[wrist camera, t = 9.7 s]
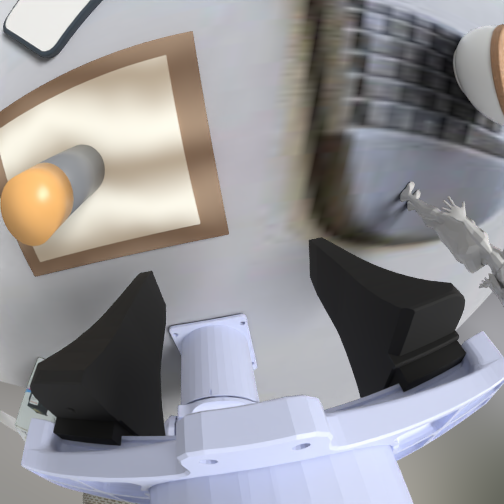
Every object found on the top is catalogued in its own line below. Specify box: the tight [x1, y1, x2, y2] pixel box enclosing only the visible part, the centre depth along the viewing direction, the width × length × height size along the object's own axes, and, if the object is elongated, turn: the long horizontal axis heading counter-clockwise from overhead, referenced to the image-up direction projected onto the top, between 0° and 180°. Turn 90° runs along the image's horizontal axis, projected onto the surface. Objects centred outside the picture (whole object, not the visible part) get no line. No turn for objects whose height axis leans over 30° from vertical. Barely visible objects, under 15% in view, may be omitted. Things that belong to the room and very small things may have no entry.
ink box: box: [15, 357, 57, 442], centre depth 25 cm, size 9×5×12 cm, turn 153°
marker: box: [1, 144, 105, 246], centre depth 14 cm, size 4×4×8 cm
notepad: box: [0, 31, 229, 277], centre depth 18 cm, size 16×20×1 cm
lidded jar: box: [453, 24, 504, 126], centre depth 13 cm, size 11×11×9 cm
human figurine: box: [400, 182, 504, 307], centre depth 16 cm, size 12×4×18 cm, turn 51°
